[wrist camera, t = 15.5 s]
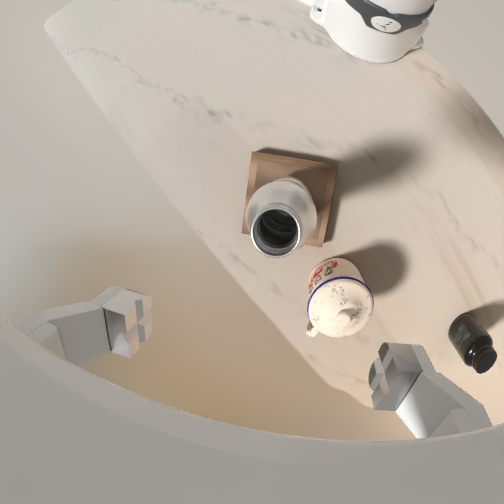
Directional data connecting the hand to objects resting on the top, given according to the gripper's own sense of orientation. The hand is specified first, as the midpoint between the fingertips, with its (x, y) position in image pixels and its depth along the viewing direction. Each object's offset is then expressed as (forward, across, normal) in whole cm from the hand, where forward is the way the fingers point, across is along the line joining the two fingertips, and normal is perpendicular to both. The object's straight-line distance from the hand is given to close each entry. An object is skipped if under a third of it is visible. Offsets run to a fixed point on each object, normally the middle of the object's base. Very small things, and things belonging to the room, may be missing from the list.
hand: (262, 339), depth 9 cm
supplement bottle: (+34, -38, +16) cm, 54 cm away
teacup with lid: (+34, -8, +13) cm, 37 cm away
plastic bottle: (+32, +1, 0) cm, 32 cm away
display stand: (+33, +1, 0) cm, 33 cm away
